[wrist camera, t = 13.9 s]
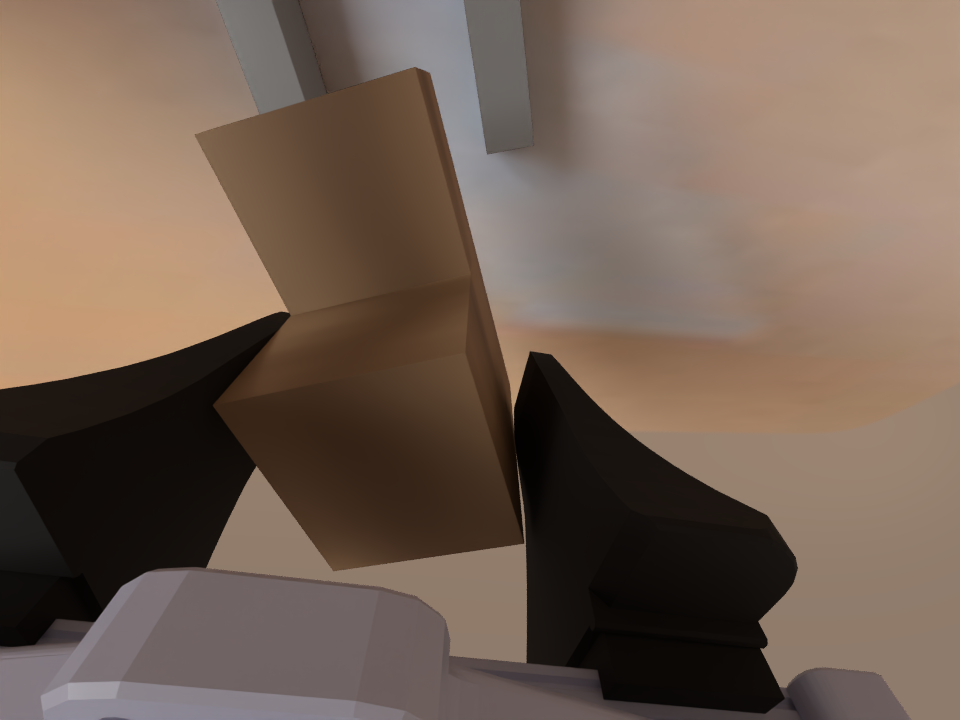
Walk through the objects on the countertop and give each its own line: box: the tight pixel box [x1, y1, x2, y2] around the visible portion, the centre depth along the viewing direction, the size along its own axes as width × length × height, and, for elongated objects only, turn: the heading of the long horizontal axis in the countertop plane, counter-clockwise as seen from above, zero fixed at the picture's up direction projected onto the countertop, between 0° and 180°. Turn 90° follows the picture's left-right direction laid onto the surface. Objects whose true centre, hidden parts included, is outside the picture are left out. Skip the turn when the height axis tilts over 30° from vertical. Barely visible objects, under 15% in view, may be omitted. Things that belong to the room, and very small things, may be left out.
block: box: [195, 67, 524, 571], centre depth 10 cm, size 4×9×6 cm, turn 14°
